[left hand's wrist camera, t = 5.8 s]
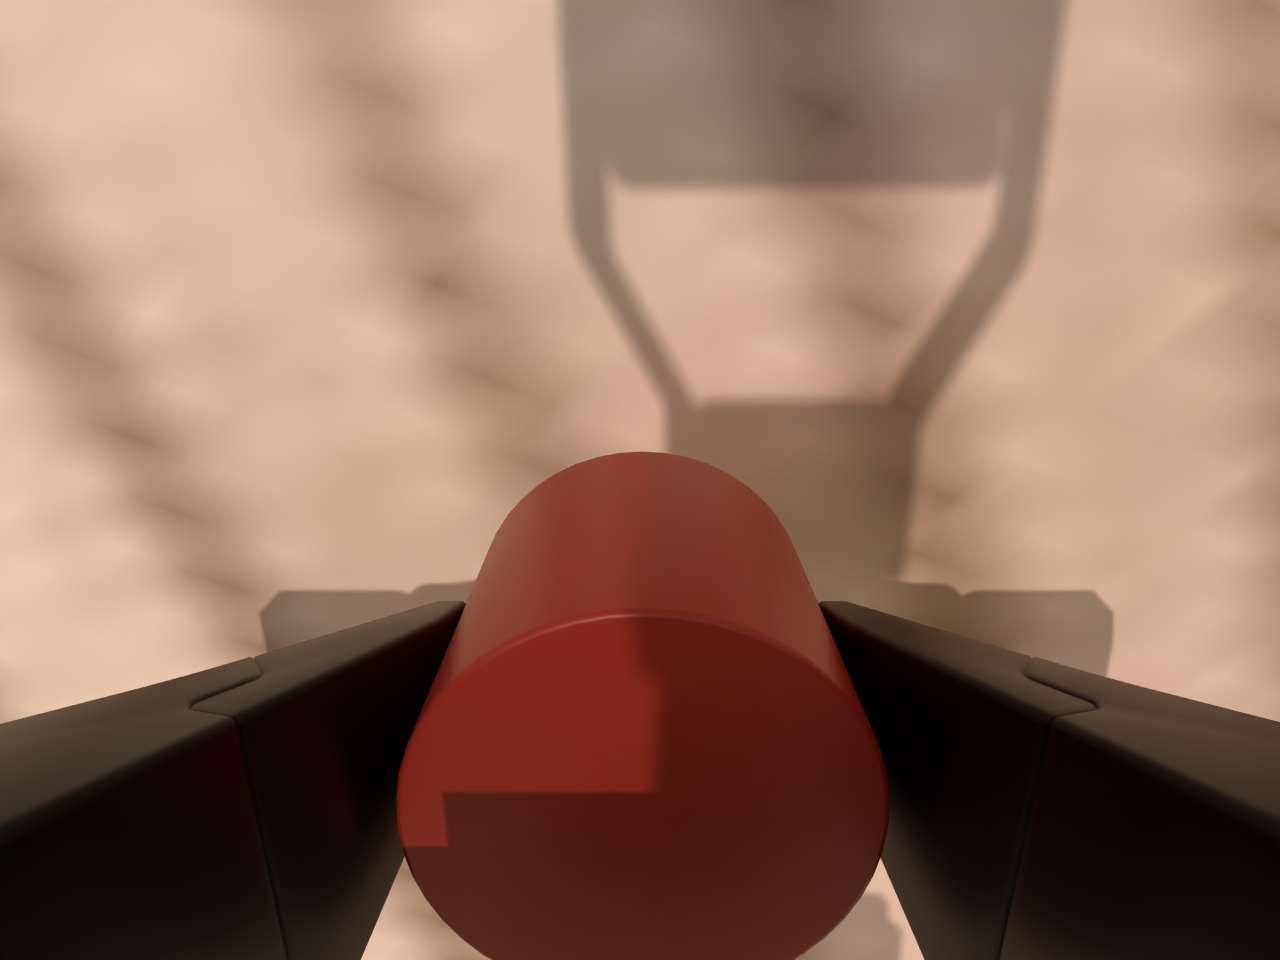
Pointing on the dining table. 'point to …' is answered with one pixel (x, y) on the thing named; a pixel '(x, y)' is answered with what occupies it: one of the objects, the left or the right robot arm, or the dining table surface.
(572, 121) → the dining table surface
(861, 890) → the canister
